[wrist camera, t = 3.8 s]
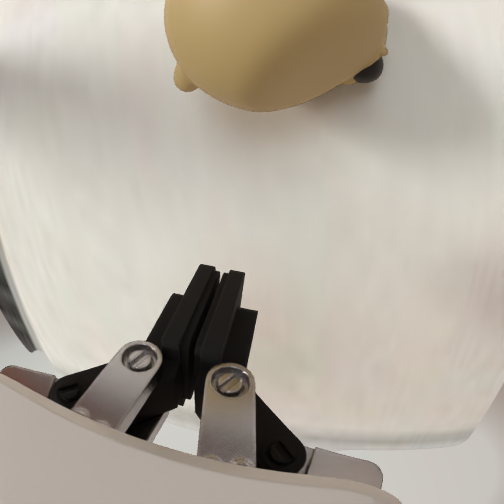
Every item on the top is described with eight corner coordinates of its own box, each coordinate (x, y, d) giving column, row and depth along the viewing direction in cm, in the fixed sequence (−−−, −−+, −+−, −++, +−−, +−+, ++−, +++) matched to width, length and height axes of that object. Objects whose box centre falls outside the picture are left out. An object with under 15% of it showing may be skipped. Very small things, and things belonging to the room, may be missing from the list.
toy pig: (299, 100, 21) (437, 114, 13) (144, 128, 15) (292, 137, 7) (286, -17, 16) (421, -40, 8) (126, -30, 10) (253, -142, 2)
